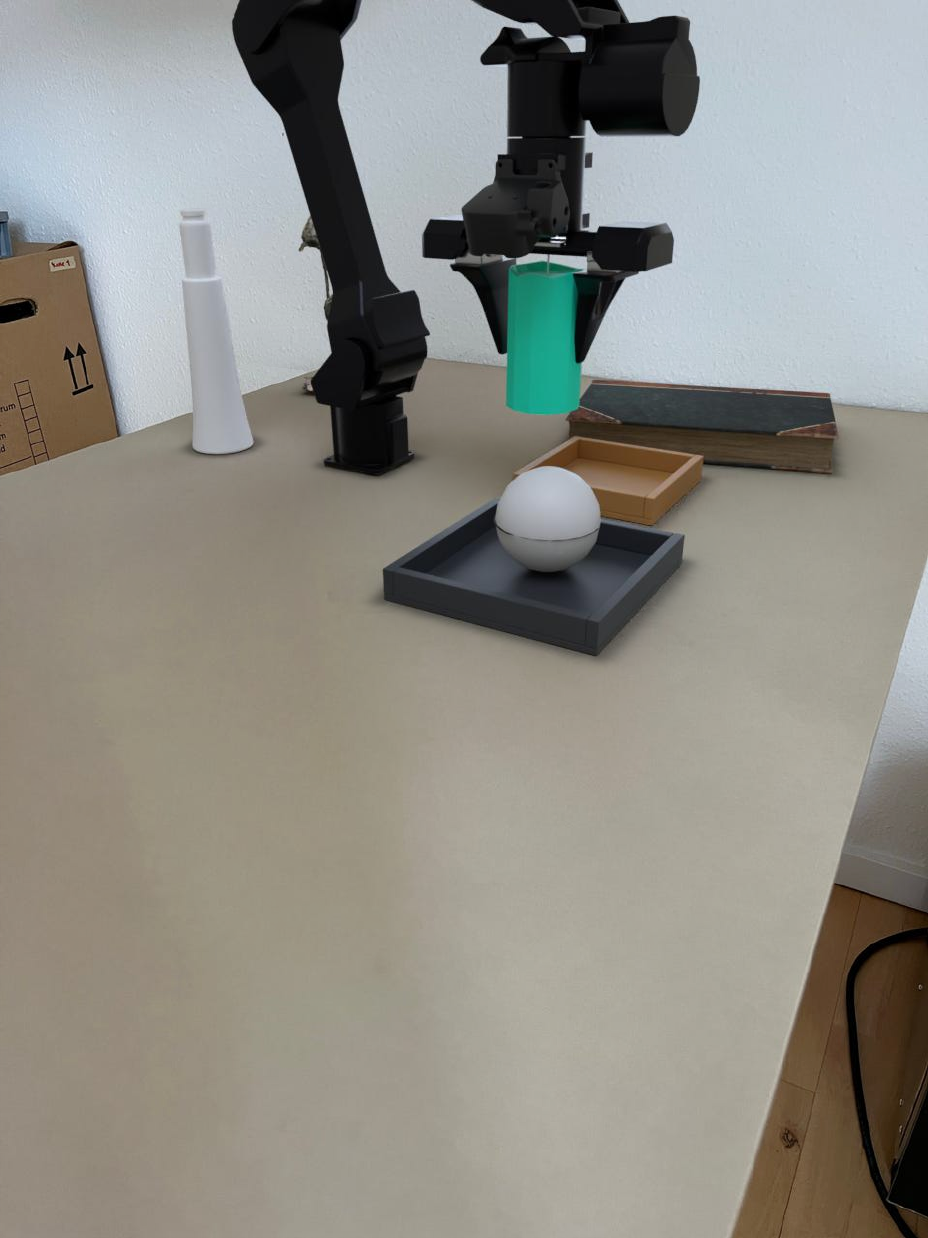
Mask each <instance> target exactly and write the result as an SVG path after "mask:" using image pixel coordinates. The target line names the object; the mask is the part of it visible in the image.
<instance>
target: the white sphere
mask: <svg viewBox="0 0 928 1238" xmlns="http://www.w3.org/2000/svg"><path fill="white" fill-rule="evenodd" d="M499 499H500V500H499V502H498V505H497V511H496V515H495V516H494V519H493V520H494V524H495V526H496V528H497V534H498V537H499V540H500V542H501V544H502V546H503V547H504V549H505V551H506V553H507V554H508V555H510V556H511V557H512V558H513V559H514V560H515V561H516V562H518V563H519V564H520V565H521V566H523V567H526V568H528V569H531V570H536V571H540V572H555V571H560V570H565V569H568V568H570V567H572V566H574V565H575V564H576V563H578V562H579V561H580V560H582V559H583V558H584V557H585V556H586V555H588V553H589V552H590V550H591V549H592V547H593V546H594V544H595V542H596V540H597V536H598V531H599V527H600V523H601V519H602V516H600V506H599V503H598V501H597V499H596V497H595V495H594V493H593V491H592V489H591V488H590V486H589V485H588V484H587V483H586V482H585V481H584V480H583V479H582V478H581V477H580V476H578V475H577V474H575V473H573V472H570V471H568V470H565V469H563V468H559V467H553V466H544V467H538V468H535V469H532V470H530V471H527V472H524V473H522V474H521V475H519V476H518V477H517V478H516V479H514V480H513V479H512V481H511V482H509V483H508V485H507V486H506V487H505V489H504V491H503V493H502V495H501V497H500V498H499Z"/></svg>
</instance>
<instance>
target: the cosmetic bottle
mask: <svg viewBox="0 0 928 1238" xmlns="http://www.w3.org/2000/svg"><path fill="white" fill-rule="evenodd" d="M206 210H207V209H204V208H183V209H180V210H179V211H180V216H182V217H181V218H182V220H180V221H179V224H178V227H179V228H178V229H179V235H180V242H181V249H182V257H183V264H184V270H185V271H184V272H185V277H183V278H182V279H181V283H182V297H183V307H184V308H183V309H184V320H185V321H184V322H185V331H186V340H187V350H188V361H189V372H190V373H189V374H190V385H191V400H192V443H191V445H192V448H193V450H194V451H196V452H198V453H201V454H206V455H227V454H234V453H238V452H242V451H246V450H248V449H249V448H251V447H252V446H253V445H254V442H255V441H254V438H253V435H252V431H251V427H250V425H249V419H248V417H247V412H246V408H245V403H244V399H243V394H242V389H241V384H240V379H239V373H238V368H237V361H236V355H235V351H234V344H233V338H232V330H231V325H230V319H229V313H228V308H227V307H228V306H227V301H226V295H225V291H224V285H223V280H222V279H223V278H222V277H221V276H219V275H217V274H218V273H217V266H216V259H215V251H214V242H213V235H212V225H211V223H210V221H209V220H208V219H206V216H207V212H206Z"/></svg>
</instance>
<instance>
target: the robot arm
mask: <svg viewBox="0 0 928 1238" xmlns="http://www.w3.org/2000/svg"><path fill="white" fill-rule="evenodd" d="M362 1H363V0H239V1H238V3H237V5H236V8H235V11H234V13H233V17H232V19H231V29H232V36H233V40H234V44H235V46H236V49H237V51H238V54H239V56H240V58H241V61H242V63H243V66H244V67H245V70H246V72H247V74H248V77H249V79H250V81H251V83H252V85H253V86H254V87H255V89H256V90H257V91H258V92H259V93H260V95H261V96H262V97H263V98H264V99H265V100H266V102H267V103H268V104H269V105H270V106H271V108H272V109H273V110H274V111H275V112H276V113H277V115H278V116H279V118H280V120H281V123H282V125H283V128H284V133H285V135H286V139H287V142H288V146H289V149H290V152H291V155H292V156H291V157H292V159H293V162H294V166H295V169H296V173H297V175H298V179H299V182H300V185H301V189H302V192H303V196H304V198H305V201H306V205H307V209H308V212H309V216H311V219H312V222H313V226H314V229H315V232H316V236H317V239H318V242H319V246H320V249H321V252H322V256H323V259H324V262H325V266H326V269H327V274H328V280H329V283H330V285H331V290H332V294H333V295H332V294H331V295H332V300H331V306H330V311H329V317H328V322H327V321H326V322H327V323H326V330H327V335H328V336H327V337H328V342H329V346H330V347H329V348H330V352H331V353H330V354H329V355H328V357H327V358H326V359H325V361H324V362H323V363H322V365H321V366H320V367H319V369H318V370H317V371H316V373H315V374H314V375H313V376H314V377H313V376H312V377H313V378H312V379H311V386H312V389H313V391H312V392H313V395H314V397H315V400H316V403H317V404H319V405H323V406H329V410H330V411H329V412H330V424H331V425H330V426H331V438H332V450H333V454H332V455H329V456H327V457H324V458H323V465H324V466H329V467H335V468H339V469H345V470H351V471H355V472H360V473H365V474H371V475H381V474H383V473H385V472H387V471H389V470H391V469H393V468H395V467H397V466H399V465H401V464H403V463H405V462H407V461H409V460H411V459H414V458H415V451H414V450H409V429H408V428H409V427H408V426H409V425H408V415H407V414H405V413H404V397H403V396H399V395H402V394H405V393H411V392H413V391H414V390H415V385H416V381H417V378H418V375H419V372H420V371H421V369H422V367H423V365H424V364H425V359H427V358H428V343H427V338H426V337H429V336H430V335H431V331H430V330H429V329H428V327H427V325H426V323H425V321H424V319H423V315H422V309H421V302H420V301H421V300H420V298H419V296H418V293H417V292H416V290H414V289H409V290H405V291H401V290H400V289H399V288H398V287H397V285H395V283H394V282H393V281H392V279H391V278H390V277H389V275H388V273H387V271H386V267H385V263H384V261H383V256H382V253H381V250H380V246H379V244H378V243H379V242H378V239H377V235H376V233H375V229H374V226H373V221H372V218H371V215H370V211H369V207H368V204H367V200H366V197H365V194H364V190H363V185H362V183H361V180H360V176H359V172H358V169H357V166H356V161H355V158H354V154H353V151H352V147H351V144H350V140H349V137H348V134H347V130H346V127H345V123H344V120H343V116H342V113H341V109H340V104H339V97H340V91H341V87H342V80H343V76H344V69H345V60H344V52H343V47H342V40H343V38H344V37H345V36H346V34H347V33H348V32H349V30H351V28H352V27H353V26H354V25H355V23H356V22H357V20H358V18H359V17H358V16H359V13H360V9H361V5H362ZM470 1H471V2H473V3H475V4H477V5H478V6H479V7H481V8H483V9H486V10H487V11H490V12H493V13H494V14H497V15H500V16H501V17H504V18H506V19H509V20H511V21H513V22H515V23H520V24H524V25H525V24H526V25H532V26H533V25H534V26H539V27H540V28H541V29H543V31H545V32H546V33H547V34H548V35H549V36H540V37H539V36H538V37H527V36H526V34H525V33H524V31H523V29H521V28H520V27H512V26H502V28H501V29H500V31H499V34H498V35H497V37H496V38H495V40H494V41H493V42H492V43H490V44H489V45H488V46H487V48H486V49H485V50H484V51H483V52H482V53H481V55H480V57H479V62H480V64H481V65H482V66H485V67H486V66H487V67H498V68H506V70H507V71H506V72H507V73H506V153H499V154H498V153H497V160H496V162H495V173H494V174H495V175H494V178H493V182H492V183H491V184H489V185H486V186H485V187H483V188H481V190H479V191H478V192H477V193H476V194H475V195H474V196H472V198H470V199H469V200H468V201H467V202H466V203H465V204H464V205H463V206H461V214H456V215H449V216H442V217H436V218H429V220H428V222H427V223H426V225H425V227H424V229H423V231H422V233H421V249H422V252H421V253H422V254H421V255H422V258H424V259H434V260H435V259H437V260H449V261H450V260H451V261H453V260H454V263H450V264H449V267H450V269H451V271H452V272H456V273H457V272H458V273H460V274H461V275H462V276H463V277H464V278H465V279H466V280H467V282H469V284H471V285H472V287H473V288H474V291H475V293H476V296H477V298H478V299H479V302H480V305H481V306H482V310H483V312H484V315H485V318H486V321H487V325H488V327H489V330H490V333H491V336H492V339H493V342H494V345H495V349H496V350H497V353H498V355H507V334H508V284H509V268H510V267H511V265H517V259H520V258H524V257H526V256H528V255H530V254H532V255H547V256H548V255H550V256H565V257H580V258H581V257H583V258H586V269H587V270H583V271H580V272H576V273H573V278H574V281H575V284H576V288H577V291H578V301H577V313H576V324H575V335H574V343H575V361H576V363H582V364H583V362H585V360H586V358H587V356H588V353H589V352H590V349H591V347H592V345H593V343H594V340H595V338H596V336H597V333H598V331H599V330H600V327H601V325H602V322H603V320H604V318H605V316H606V314H607V312H608V309H609V308H610V306H611V304H612V302H613V301H614V299H615V297H616V295H617V294H618V292H619V290H620V289H621V287H622V286H623V284H624V282H625V280H626V278H630V277H633V276H636V275H639V274H640V273H641V272H648V271H651V270H654V269H655V270H656V269H658V268H662V267H664V266H667V265H670V264H673V256H674V245H675V238H674V234H673V231H672V229H671V228H670V226H669V225H668V223H667V222H654V221H652V222H650V221H628V220H627V221H625V220H623V221H618V222H612V223H608V224H602V225H599V226H598V228H597V230H585V229H588V228H590V216H591V213H590V212H584V197H585V196H584V193H585V174H586V172H585V171H586V169H591V168H593V156H594V152H586V151H587V150H586V149H587V137H586V136H587V125H588V124H587V122H589V124H590V126H591V128H592V130H593V131H594V132H595V133H596V135H598V136H599V137H602V138H631V137H632V138H637V137H638V138H641V137H645V138H646V137H647V138H652V137H659V138H660V137H662V138H663V137H667V138H668V137H680V136H682V135H684V134H685V133H686V131H687V130H689V127H690V125H691V123H692V122H693V119H694V116H695V113H696V109H697V105H698V101H699V95H700V85H701V78H700V75H698V66H697V57H696V53H695V49H694V47H693V45H692V42H691V40H690V30H691V29H690V28H691V20H690V18H689V17H687V16H686V17H685V16H680V15H666V16H665V15H664V16H657V17H655V18H653V19H650V20H647V21H635V22H630V20H629V18H628V17H627V15H626V12H625V11H624V9H623V7H622V6H621V3H620V2H619V0H470ZM563 39H570V40H577V41H578V40H579V41H584V42H585V44H584V51H571V49H570V47H569V45H568V44H567V43H566V41H565V40H563Z"/></svg>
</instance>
